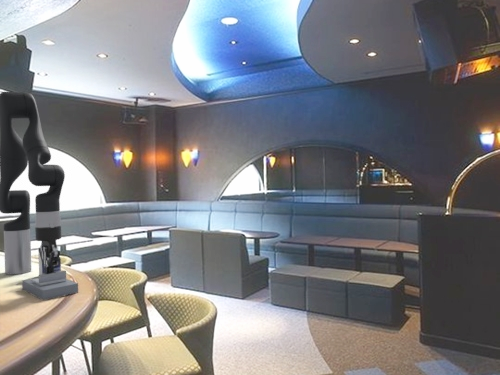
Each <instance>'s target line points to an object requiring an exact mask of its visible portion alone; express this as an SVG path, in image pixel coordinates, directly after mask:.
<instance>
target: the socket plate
mask: <svg viewBox="0 0 500 375" xmlns="http://www.w3.org/2000/svg"><path fill="white" fill-rule="evenodd" d="M37 278H38V277H34V278H28V279H23V280H21V282H22V290H23V291H25V292H27V293H28V294H31V295H33V296H34V297H35V298H38V299H40V300H42V301H46V300H50V299H56V298H60V297H64V295H65V296H68V294H70V295H74V294H78V293H79V283H78V282H75V281H73V280H71V279H68V278H66V281H63V282H58V283H53V284H48V285H43V286H39V285H37V284H35V283H33V282H32V279H37Z"/></svg>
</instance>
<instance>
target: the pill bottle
mask: <svg viewBox="0 0 500 375" xmlns="http://www.w3.org/2000/svg"><path fill="white" fill-rule="evenodd" d="M57 251H58V250H57ZM61 262H62V260H61V257H60V256H59V259H58V262H57V265H55V266H54V272H59V271H62V264H61ZM45 267H46V266H44V264H42V274H45Z"/></svg>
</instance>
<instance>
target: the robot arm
mask: <svg viewBox="0 0 500 375" xmlns="http://www.w3.org/2000/svg"><path fill="white" fill-rule="evenodd" d="M13 119H28V122H29V123H28V126H27V129H26V130H25V132H24V134H23V137H22V138H21V137H20V135H19V134H18V133H17V132H16V130H15V128H14V126H13V124H12V120H13ZM43 132H44V131H43V129H42V122H41V119H40V113H39V109H38V106H37V100H36V99H35V97H34V96H33V94H32V93H30V92H25V91H2V92H0V213H2V214H5V215H6V214H9V215H10V214H20V215H19V216H18V217H17V218H15V219H13V220H11V221H8V222H6V223H4V224H3V243H4V244H3V247H4V248H3V250H4V273H5V275H19V274H20V275H21V274H26V273H29V272H31V271H32V246H31V245H32V244H31V241H32V240H31V221H30V220H31V219H30V218H31V216H30V215H31V214H30V213H31V196H30V193H29V191H28V190H25V189H20V190H19V189H18V190H16V189H15V190H11V187H12V186H13V183H15V182H16V180H17V179H19V177H20V176H21V175H22V174H23V173H24V172H25V170H26V169H27V167H28V169H27V171H28V172H27V174H28V175H27V178H28V180H29V182H30V183H31V184H32V185H33V186H35V187H49V188H48V190H47V191H46V192H43V193H39V194H37V195H36V196H35V216H34V217H35V219H34V220H35V221H34V224H35V226H34V227H35V228H34V229H35V240H36V241H37V242H41V244H40V246H41V248H40V247H39V248H38V250H39V251H38V254H39V253H40V257H41V261H42V264H44V266H46V267H45V274H47V273H53V272H54V266H55V265H57V262H58V259H59V257H60V255H61V251H60V250H59V251H57V246H58V244H57V240H60V239H62V220H61V219H62V218H61V217H62V216H61V212H60V211H61V210H60V205H61V202H60V198H61V194H62V188H63V185H64V182H65V176H66V175H65V171H64V168H63V167H62V166H61V165H58V164H49V162H50V161H51V159H52V154H51V152H50V149H49V146H48V144H47V141H46V139H45V136H44V133H43ZM47 163H48V164H47Z"/></svg>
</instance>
